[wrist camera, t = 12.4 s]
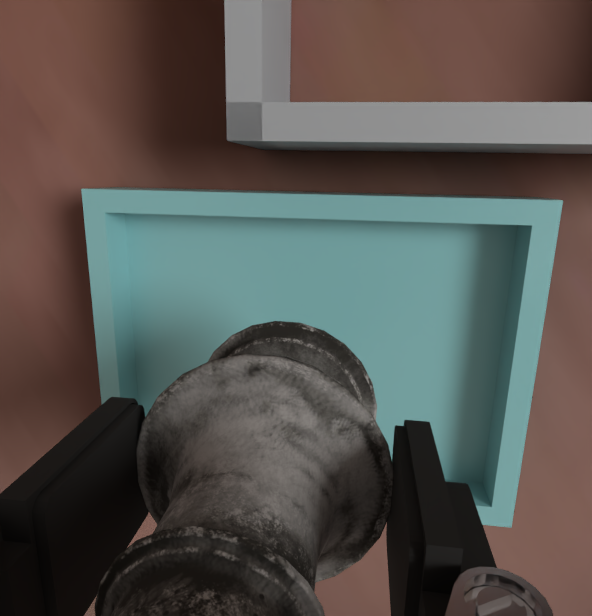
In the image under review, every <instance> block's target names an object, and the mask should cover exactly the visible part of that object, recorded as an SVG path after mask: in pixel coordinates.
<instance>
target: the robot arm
mask: <svg viewBox="0 0 592 616" xmlns="http://www.w3.org/2000/svg"><path fill="white" fill-rule="evenodd" d="M144 419H145V411H144V407H143V406H142V405H138V402H137V400H136V399H135V398H122V397H110V398H109V399H108V400H107V401H105V402H104V403H103V404H102V405H101V406H100V407H99V408H97V409H96V410H95V411H94V412H93V413H92V414H91V415H89V416H88V417H87V418H86V419H85V420H84V421H83V422H82V423H80V424H79V425H78V426H77V427H76V428H75V429H74V430H72V431H71V432H70V433H69V434H68V435H67V436H66V437H64V438H63V439H62V440H61V441H60V442H59V443H58V444H56V445H55V446H54V447H53V448H52V449H51V450H50V451H49V452H47V453H46V454H45V455H44V456H43V457H42V458H41V459H39V460H38V461H37V462H36V463H35V464H34V465H33V466H31V467H30V468H29V469H28V470H27V471H26V472H25V473H23V474H22V475H21V476H20V477H19V478H18V479H17V480H16V481H14V482H13V483H12V484H11V485H10V486H9V487H8V488H6V489H5V490H4V491H3V492H2V493H1V494H0V616H84V614H85V613H86V611H87V610H88V608H89V606H90V605H91V603H92V602H93V600H94V599H95V597H96V595H97V594H98V589H99V585H100V582H101V580H102V579H103V577H104V575H105V574H106V572H107V571H108V569H109V567H110V566H111V564H112V563H113V561H114V560H115V558H116V557H117V556H118V555H119V554H120V553H122V552H123V551H124V550H125V549H126V548H127V547H128V545H129V543H130V542H131V540H132V539H133V537H134V536H135V534H136V532H137V531H138V529H139V528H140V526H141V525H142V523H143V521H144V520H145V518H146V517H147V515H148V512H149V511H148V509H147V507H146V504H145V501H144V498H143V495H142V492H141V489H140V486H139V483H138V472H137V457H136V448H137V443H138V439H139V434H140V430H141V426H142V422H143V420H144ZM392 465H393V471H394V472H393V487H392V499H391V511H390V515H389V518H388V520H387V556H388V572H389V589H390V605H391V616H553V613H552V609H551V608H550V606H549V604H548V602H547V600H546V599H545V597H544V596H543V595H542V594H541V593H540V592H539V591H538V590H537V589H536V588H535V587H534V586H533V585H531V584H530V583H529V582H527V581H526V580H524V579H523V578H522V577H519V576H517V575H515V574H513V573H511V572H509V571H506V570H502V569H498V568H497V567H496V564H495V561H494V558H493V555H492V552H491V549H490V546H489V543H488V540H487V537H486V534H485V531H484V528H483V525H482V523H481V520H480V517H479V514H478V511H477V508H476V505H475V502H474V499H473V496H472V493H471V490H470V488H469V485H468V484H466V483H458V482H447V481H445V478H444V474H443V470H442V466H441V463H440V459H439V455H438V451H437V447H436V444H435V440H434V436H433V432H432V429H431V425H430V422H427V421H415V420H405V421H404V426H398V425H395V429H394V441H393V454H392Z"/></svg>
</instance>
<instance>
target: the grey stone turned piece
mask: <svg viewBox="0 0 592 616" xmlns="http://www.w3.org/2000/svg"><path fill="white" fill-rule="evenodd" d="M376 413H377V403H376V398H375V393H374V388H373V383H372V381H371V379H370V377H369V375H368V373H367V371H366V370H365V368H364V366H363V364H362V362H361V361H360V360H359V359H358V358H357V356H356V355H355V354H354V353H353V352H352V351H351V350H350V349H349V348H348V347H347V346H346V345H345V344H344V343H343V342H341V341H340V340H338V339H336V338H335V337H333V336H332V335H330V334H329V333H327V332H326V331H324V330H321V329H318V328H315V327H312V326H309V325H306V324H303V323H299V322H285V321H272V322H267V323H262V324H256V325H252V326H250V327H248V328H246V329H244V330H241V331H239V332H237V333H235V334H233V335H231V336H230V337H229V338H228V339H227V340H226V341H225V342H224V343H222V344H221V345H220V346H219V347H218V348H217V349H216V350H215V351H214V352H213V354H212V355H211V357H210V359H209V360H208V362H207V363H205V364H202V365H200V366H198V367H196V368H194V369H192V370H190V371H188V372H186V373H184V374H182V375H181V376H180V377H179V378H177V379H176V380H175V381H174V382H173V383H172V384H171V385H170V386H169V387H167V388H166V389H165V390H164V391H163V392H162V393H161V394H160V395H159V396H158V397H157V398H156V400H155V402H154V404H153V405H152V407H151V409H150V410H149V412H148V414H147V415H146V417H145V419H144V420H143V422H142V426H141V430H140V434H139V439H138V443H137V448H136V457H137V472H138V483H139V486H140V489H141V492H142V495H143V498H144V501H145V504H146V507H147V509H148V511H149V512H150V514H151V515H152V517H153V518H154V520H155V522H156V523H157V527H156V529H155V531H154V532H153V534H151V535H149V536H146V537H144V538H141V539H139V540H137V541H135V542H134V543H133V544H132V545H130V546H129V547H128V548H127V549H125V550H124V551H123V552H122V553H120V554H119V555H118V556H117V557H116V558H115V560H114V561H113V563H112V564H111V566H110V567H109V569H108V571H107V572H106V574H105V575H104V577H103V579H102V580H101V582H100V585H99V589H98V594H97V598H96V602H95V615H96V616H325V615H324V611H323V607H322V605H321V604H320V602H319V600H318V599H317V597H316V595H315V593H314V589H315V582H318V581H321V580H324V579H327V578H331V577H334V576H336V575H338V574H339V573H341V572H342V571H344V570H345V569H347V568H348V567H350V566H351V565H353V564H355V563H356V562H358V561H359V560H361V559H362V557H363V556H364V555H365V554H366V553H367V552H368V550H369V549H370V548H371V547H372V546H373V545H374V544H375V542H376V541H377V540H378V539H379V538H380V536H381V534H382V531H383V529H384V527H385V525H386V522H387V520H388V518H389V515H390V511H391V499H392V487H393V472H394V471H393V465H392V460H391V455H390V450H389V445H388V443H387V441H386V439H385V437H384V436H383V434H382V432H381V430H380V428H379V426H378V424H377V422H376Z"/></svg>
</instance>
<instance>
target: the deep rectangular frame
mask: <svg viewBox="0 0 592 616" xmlns="http://www.w3.org/2000/svg"><path fill="white" fill-rule="evenodd" d="M224 8H225V63H226V118H227V141H230V142H234V143H238V144H242V145H246V146H250V147H254V148H258V149H262V150H324V151H405V152H486V153H567V154H592V102H290V54H291V0H224Z"/></svg>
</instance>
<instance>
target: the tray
mask: <svg viewBox="0 0 592 616" xmlns="http://www.w3.org/2000/svg"><path fill="white" fill-rule="evenodd" d="M81 191H82V202H83V212H84V223H85V234H86V244H87V255H88V265H89V276H90V286H91V297H92V307H93V318H94V329H95V339H96V350H97V360H98V371H99V381H100V392H101V402H102V404H103V403H104V402H105V401H107V400H108V399H109V398H110V397H122V398H135V399H136V400H137V402H138V405H142V406H143V407H144V411H145V417H146V415H147V414H148V412H149V410H150V409H151V407H152V405H153V404H154V402H155V400H156V398H157V397H158V396H159V395H160V394H161V393H162V392H163V391H164V390H165V389H166V388H167V387H169V386H170V385H171V384H172V383H173V382H174V381H175V380H176V379H177V378H179V377H180V376H181V375H182V374H184V373H186V372H188V371H190V370H192V369H194V368H196V367H198V366H200V365H202V364H205V363H207V362H208V360H209V359H210V357H211V355H212V354H213V352H214V351H215V350H216V349H217V348H218V347H219V346H220V345H221V344H222V343H224V342H225V341H226V340H227V339H228V338H229V337H230V336H231V335H233V334H235V333H237V332H239V331H241V330H244V329H246V328H248V327H250V326H252V325H256V324H262V323H267V322H272V321H285V322H299V323H303V324H306V325H309V326H312V327H315V328H318V329H321V330H324V331H326V332H327V333H329V334H330V335H332V336H333V337H335V338H336V339H338V340H340V341H341V342H343V343H344V344H345V345H346V346H347V347H348V348H349V349H350V350H351V351H352V352H353V353H354V354H355V355H356V356H357V358H358V359H359V360H360V361H361V362H362V364H363V366H364V368H365V370H366V371H367V373H368V375H369V377H370V379H371V381H372V383H373V388H374V393H375V398H376V403H377V413H376V422H377V424H378V426H379V428H380V430H381V432H382V434H383V436H384V437H385V439H386V441H387V443H388V445H389V450H390V455H391V460H392V454H393V441H394V429H395V425H398V426H404V421H405V420H415V421H427V422H430V425H431V429H432V432H433V436H434V440H435V444H436V447H437V451H438V455H439V459H440V463H441V466H442V470H443V474H444V478H445V481H447V482H458V483H466V484H468V485H469V488H470V490H471V493H472V496H473V499H474V502H475V505H476V508H477V511H478V514H479V517H480V520H481V523H482V525H491V526H500V527H510V528H511V527H512V521H513V514H514V508H515V502H516V495H517V489H518V483H519V476H520V470H521V464H522V457H523V451H524V445H525V438H526V432H527V426H528V419H529V413H530V407H531V400H532V394H533V388H534V382H535V375H536V369H537V363H538V356H539V350H540V344H541V337H542V331H543V325H544V318H545V312H546V306H547V299H548V293H549V287H550V280H551V274H552V268H553V261H554V255H555V249H556V242H557V236H558V230H559V223H560V217H561V211H562V204H563V200H557V199H549V198H541V197H516V196H473V195H430V194H387V193H344V192H300V191H257V190H214V189H171V188H128V187H110V188H88V189H81Z"/></svg>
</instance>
